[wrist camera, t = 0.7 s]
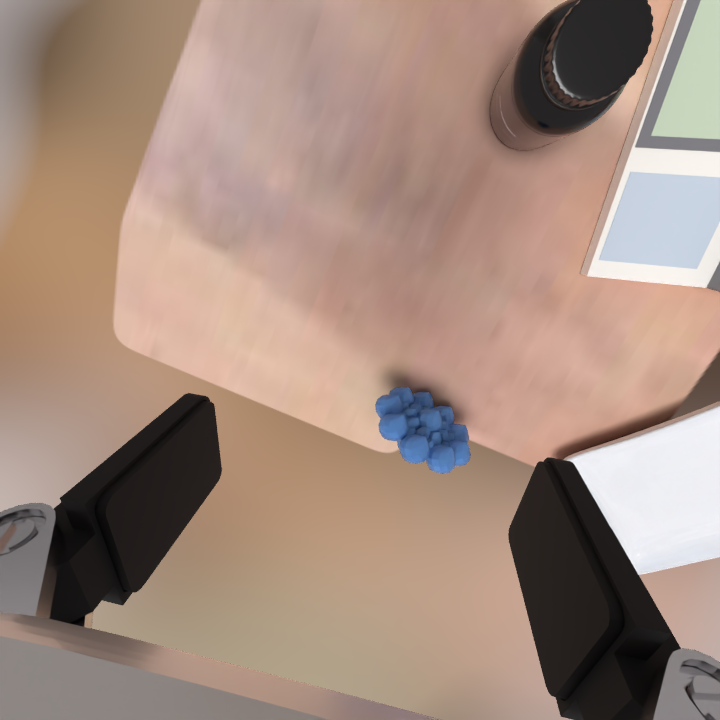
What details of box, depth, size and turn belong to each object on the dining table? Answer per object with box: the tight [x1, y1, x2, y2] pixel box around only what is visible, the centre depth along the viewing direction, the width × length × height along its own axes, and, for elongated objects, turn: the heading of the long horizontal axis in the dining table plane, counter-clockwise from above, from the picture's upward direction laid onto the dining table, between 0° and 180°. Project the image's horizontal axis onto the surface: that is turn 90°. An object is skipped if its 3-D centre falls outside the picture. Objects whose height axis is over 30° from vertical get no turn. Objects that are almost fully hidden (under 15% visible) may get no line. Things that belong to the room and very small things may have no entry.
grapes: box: [375, 387, 471, 474], centre depth 36 cm, size 12×7×12 cm, turn 59°
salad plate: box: [563, 401, 720, 575], centre depth 39 cm, size 21×21×3 cm
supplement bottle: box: [490, 0, 653, 150], centre depth 23 cm, size 7×7×12 cm
